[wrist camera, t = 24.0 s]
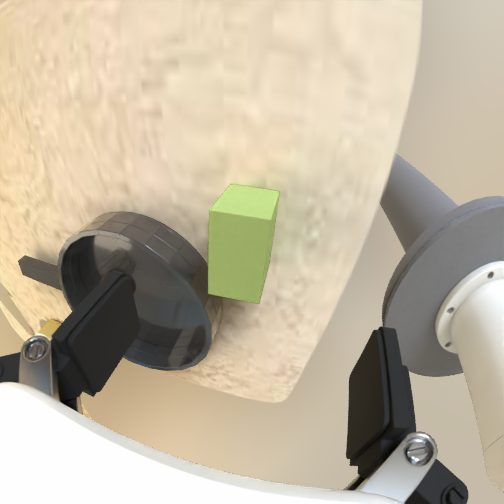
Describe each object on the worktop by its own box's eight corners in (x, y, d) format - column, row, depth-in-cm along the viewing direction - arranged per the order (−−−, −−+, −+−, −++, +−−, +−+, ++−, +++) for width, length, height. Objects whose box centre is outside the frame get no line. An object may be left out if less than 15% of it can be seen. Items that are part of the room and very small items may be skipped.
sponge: (279, 190, 23) (270, 219, 18) (269, 264, 26) (259, 304, 22) (230, 183, 23) (209, 209, 18) (226, 256, 27) (207, 293, 22)
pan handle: (71, 270, 31) (64, 277, 29) (76, 285, 32) (69, 293, 30) (24, 255, 32) (17, 261, 30) (29, 268, 33) (22, 275, 32)
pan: (226, 227, 25) (212, 250, 22) (220, 361, 35) (212, 386, 32) (64, 202, 27) (41, 218, 24) (96, 324, 37) (83, 343, 34)
